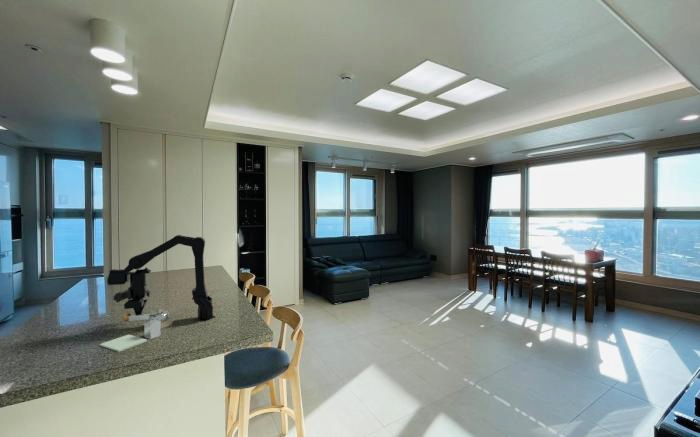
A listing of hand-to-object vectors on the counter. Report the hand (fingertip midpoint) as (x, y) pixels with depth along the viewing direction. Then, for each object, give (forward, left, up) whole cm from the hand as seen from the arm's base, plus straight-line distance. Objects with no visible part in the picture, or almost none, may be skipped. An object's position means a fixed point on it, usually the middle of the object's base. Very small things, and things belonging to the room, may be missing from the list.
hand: (138, 317), depth 131 cm
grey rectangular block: (-17, +4, -4) cm, 18 cm away
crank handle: (-4, -1, -1) cm, 4 cm away
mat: (-14, +13, -4) cm, 20 cm away
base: (-8, -5, -4) cm, 10 cm away
